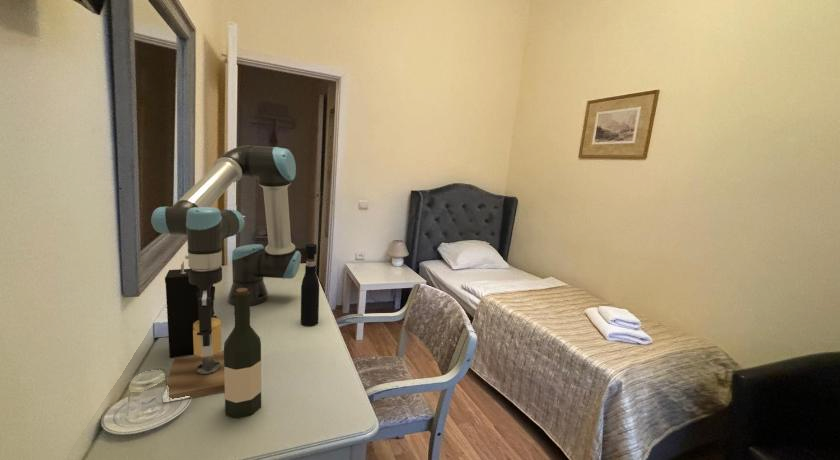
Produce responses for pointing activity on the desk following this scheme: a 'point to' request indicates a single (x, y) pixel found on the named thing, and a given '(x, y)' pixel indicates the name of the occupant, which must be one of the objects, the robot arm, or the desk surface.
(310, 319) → the wine bottle
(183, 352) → the black pillar candle
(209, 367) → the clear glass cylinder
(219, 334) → the ochre cap
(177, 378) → the walnut board
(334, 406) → the desk surface
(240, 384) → the labelled green bottle
